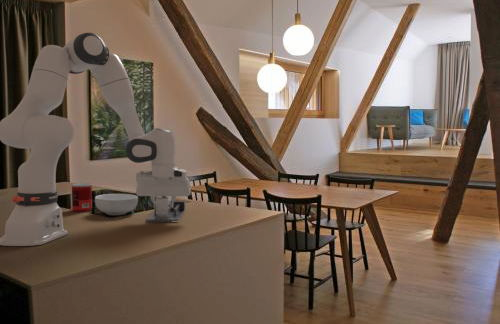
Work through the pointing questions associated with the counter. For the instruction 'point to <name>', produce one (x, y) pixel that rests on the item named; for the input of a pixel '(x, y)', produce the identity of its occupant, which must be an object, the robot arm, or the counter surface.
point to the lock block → (163, 204)
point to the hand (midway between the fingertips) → (163, 207)
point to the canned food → (81, 197)
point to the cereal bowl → (116, 203)
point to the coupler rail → (173, 214)
